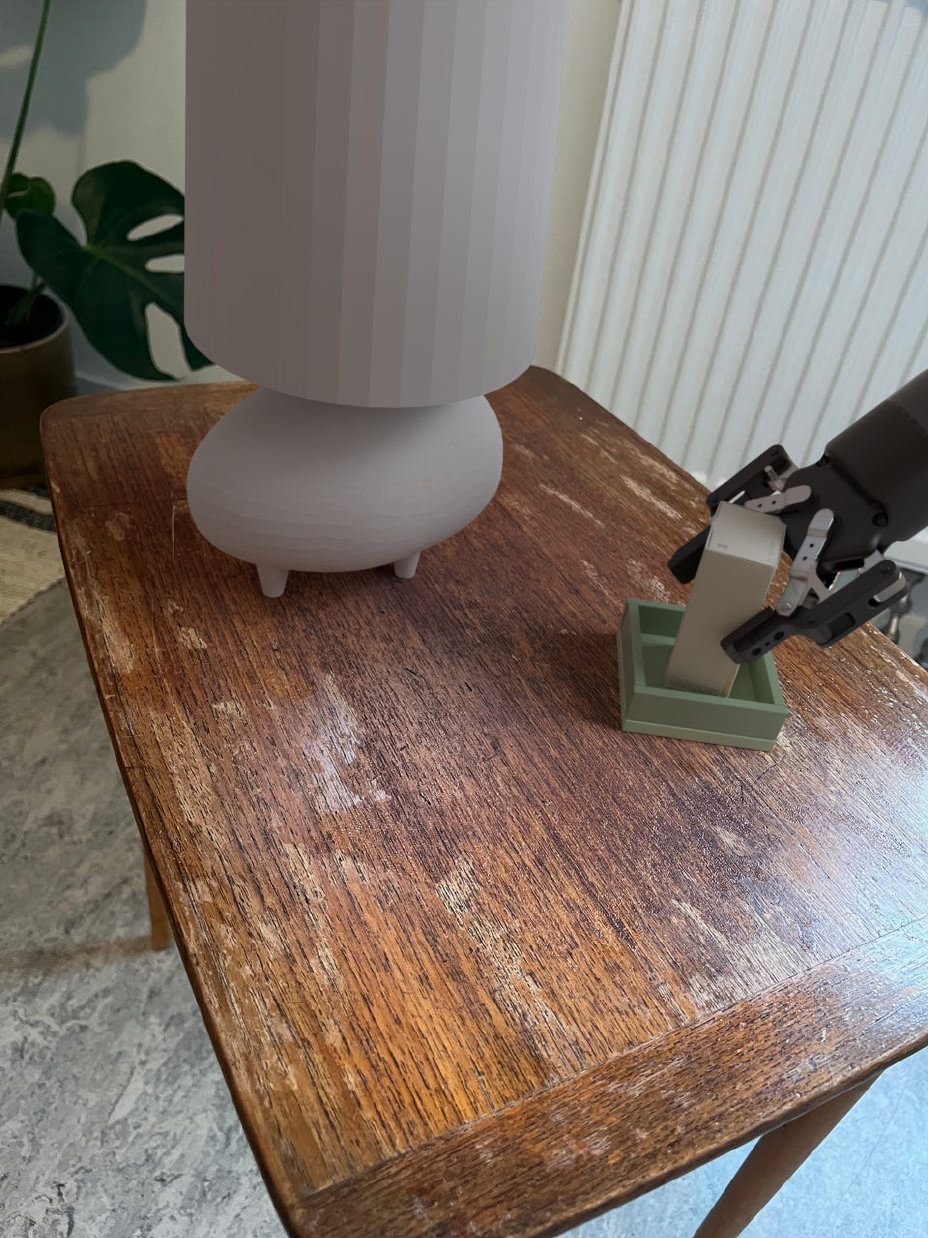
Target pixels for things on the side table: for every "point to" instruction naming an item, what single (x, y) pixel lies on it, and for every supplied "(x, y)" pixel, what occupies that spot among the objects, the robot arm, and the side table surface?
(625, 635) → the green open storage bin
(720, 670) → the cosmetic box
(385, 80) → the table lamp
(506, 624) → the side table surface
